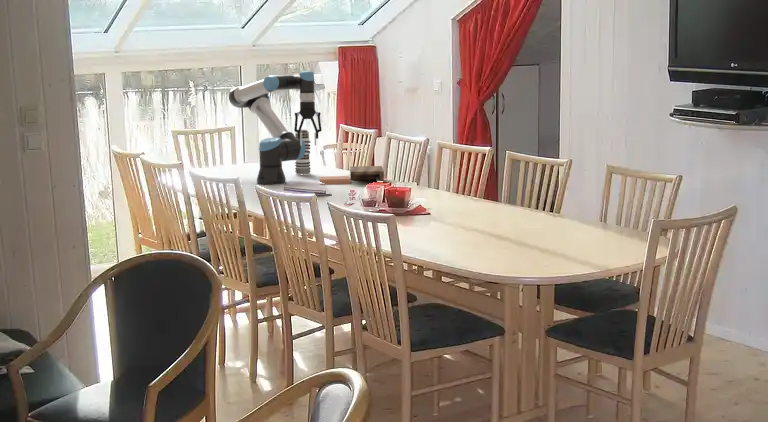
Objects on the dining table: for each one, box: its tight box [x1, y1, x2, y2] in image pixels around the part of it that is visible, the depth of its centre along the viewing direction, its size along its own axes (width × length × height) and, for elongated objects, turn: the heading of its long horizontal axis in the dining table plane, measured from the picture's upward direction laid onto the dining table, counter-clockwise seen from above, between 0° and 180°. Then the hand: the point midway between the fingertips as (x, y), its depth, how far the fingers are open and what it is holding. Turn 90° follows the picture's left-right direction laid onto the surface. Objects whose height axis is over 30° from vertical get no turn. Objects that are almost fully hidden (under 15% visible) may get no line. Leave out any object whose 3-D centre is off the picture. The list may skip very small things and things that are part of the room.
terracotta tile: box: [318, 175, 351, 185], centre depth 505 cm, size 16×11×3 cm
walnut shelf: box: [349, 165, 385, 182], centre depth 505 cm, size 17×20×7 cm
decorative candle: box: [294, 129, 312, 176], centre depth 533 cm, size 9×9×25 cm
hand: (308, 145), depth 501 cm, fingers open, 7 cm apart
